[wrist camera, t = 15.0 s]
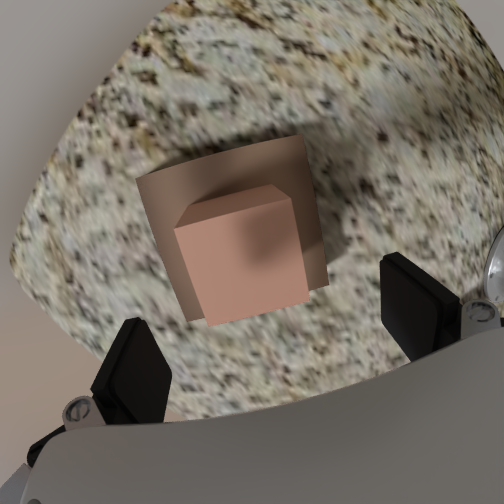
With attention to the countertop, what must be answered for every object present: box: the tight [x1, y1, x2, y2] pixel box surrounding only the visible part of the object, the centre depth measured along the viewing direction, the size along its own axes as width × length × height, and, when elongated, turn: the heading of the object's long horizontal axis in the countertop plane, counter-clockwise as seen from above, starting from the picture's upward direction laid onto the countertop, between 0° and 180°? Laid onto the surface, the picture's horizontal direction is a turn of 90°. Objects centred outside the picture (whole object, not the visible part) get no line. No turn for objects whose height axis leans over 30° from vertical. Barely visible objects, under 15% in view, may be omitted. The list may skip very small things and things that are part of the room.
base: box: [136, 134, 329, 322], centre depth 22 cm, size 12×12×3 cm
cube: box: [174, 184, 310, 326], centre depth 18 cm, size 6×6×6 cm
